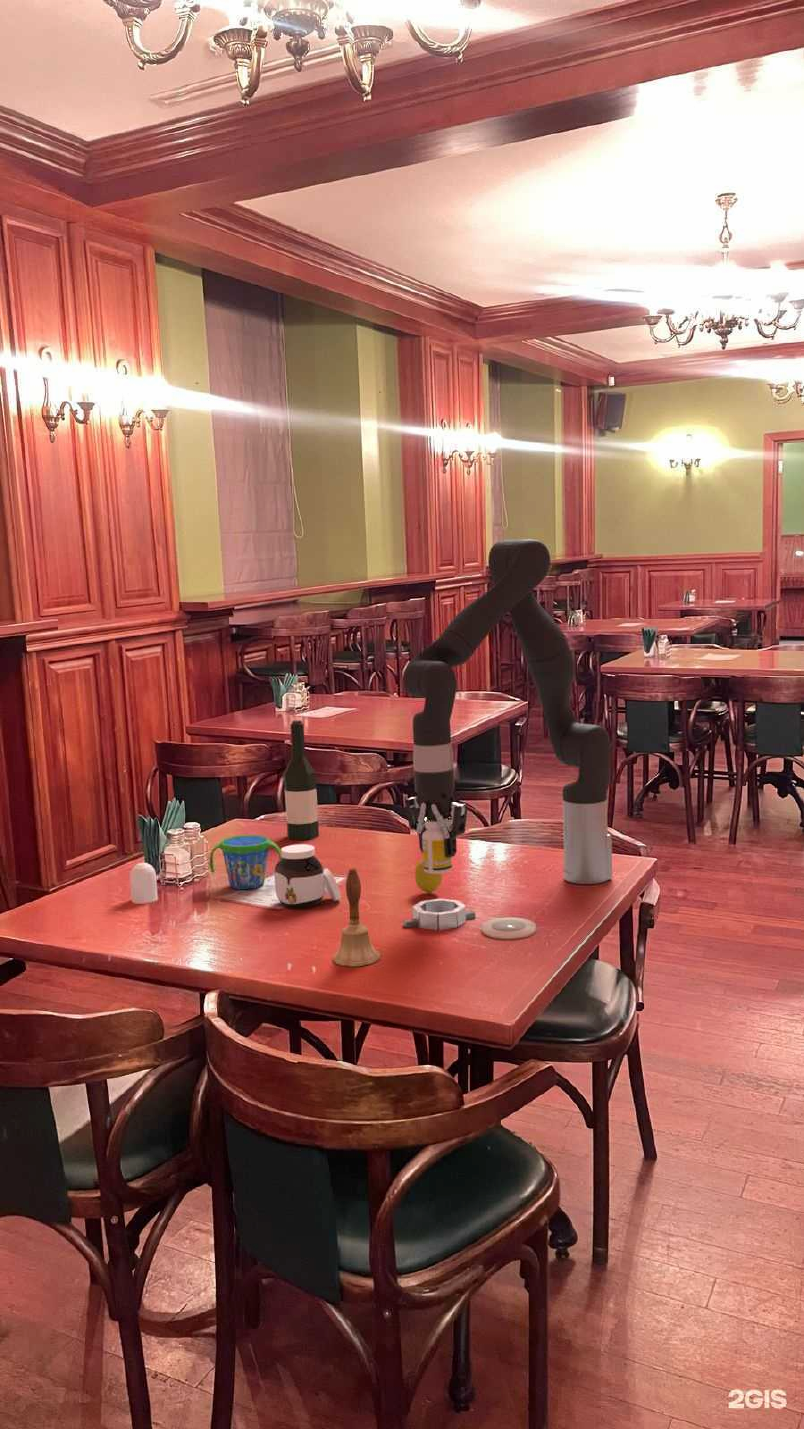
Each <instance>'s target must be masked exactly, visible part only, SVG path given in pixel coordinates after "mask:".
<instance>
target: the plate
mask: <svg viewBox="0 0 804 1429" xmlns="http://www.w3.org/2000/svg"><path fill="white" fill-rule="evenodd" d="M536 931H537V925H536V923H535V922H534V921H532V920H530V919H527V918H521V917H497V918H492V919H488V920H486V921H485V922H482V924H481V932H482V934H484V935H485V936H487V937H490V938H493V939H501V940H516V939H523V938H527V937H530V936H532V935H534V934H535V933H536Z"/></svg>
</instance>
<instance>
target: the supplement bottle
mask: <svg viewBox="0 0 804 1429" xmlns="http://www.w3.org/2000/svg"><path fill="white" fill-rule="evenodd" d="M444 821H447V819H445V820H444ZM425 828H426V829H427V830H426V831H425V832H424V833H423V834H422V846H423V853H422V859H423V867H424V871H425V872H427V873H431V874H447V873H449V872H451V871H452V869H453V863H452V862H453V861H452V860H453V859H452V857H450V858H448V857H445V843H444V838H445V836H444V833H443V830H442V828H440V827H439V825H438V822H437V821H435V820H433V819H432V820H425Z"/></svg>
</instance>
